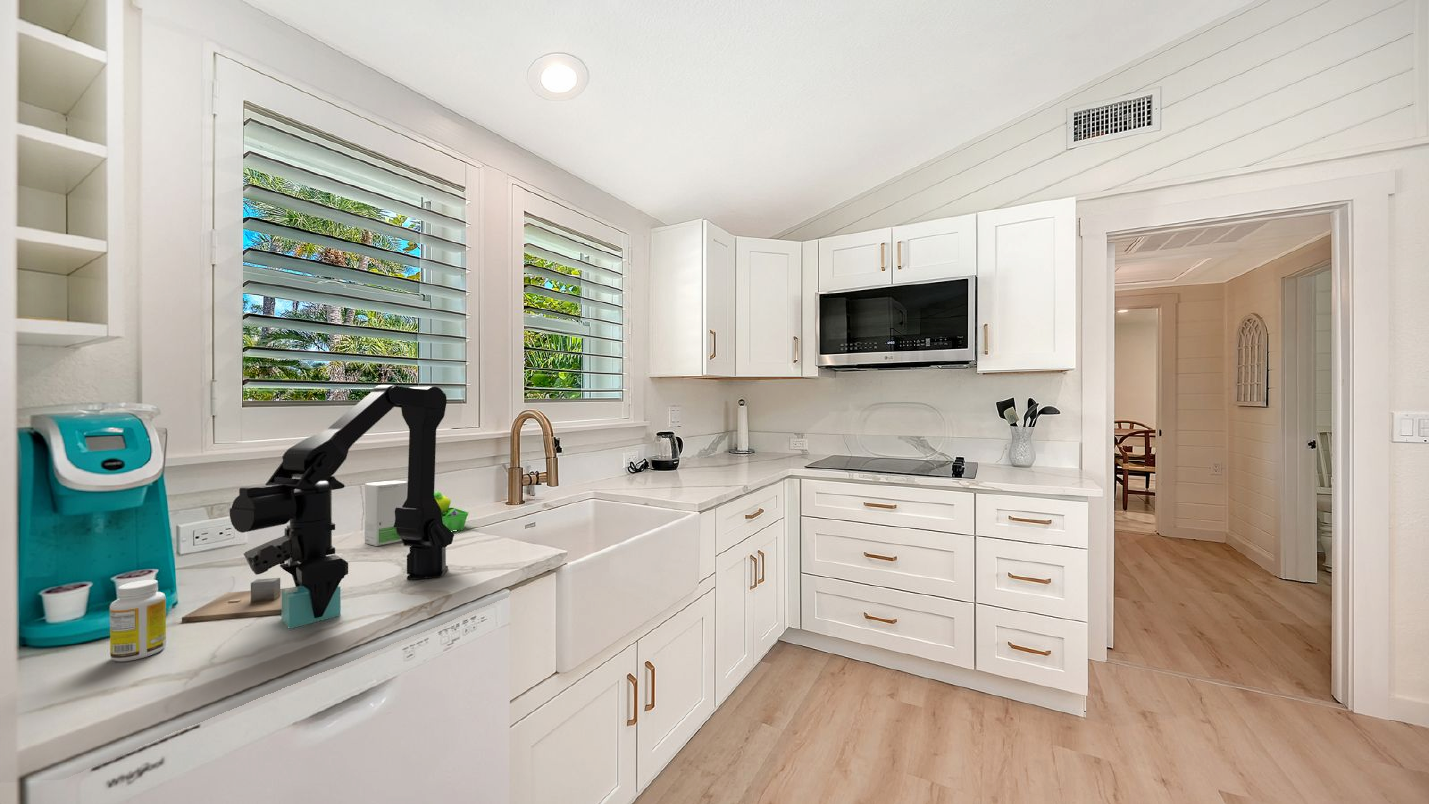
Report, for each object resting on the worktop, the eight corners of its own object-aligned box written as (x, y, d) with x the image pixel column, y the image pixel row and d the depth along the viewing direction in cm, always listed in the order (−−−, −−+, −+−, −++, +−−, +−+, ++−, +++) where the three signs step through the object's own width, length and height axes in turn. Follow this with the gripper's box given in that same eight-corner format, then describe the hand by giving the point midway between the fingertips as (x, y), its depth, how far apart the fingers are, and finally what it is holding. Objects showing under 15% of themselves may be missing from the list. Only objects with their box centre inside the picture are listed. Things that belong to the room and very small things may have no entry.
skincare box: (375, 547, 135) (375, 485, 135) (362, 543, 139) (362, 483, 139) (409, 539, 142) (409, 481, 142) (396, 536, 146) (396, 479, 146)
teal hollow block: (331, 607, 96) (331, 575, 96) (340, 615, 92) (340, 582, 92) (281, 619, 90) (281, 586, 90) (289, 628, 87) (289, 594, 87)
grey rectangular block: (280, 596, 99) (280, 577, 99) (274, 600, 97) (274, 581, 97) (257, 598, 98) (257, 579, 98) (250, 602, 96) (250, 582, 96)
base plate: (337, 588, 105) (337, 582, 105) (306, 611, 94) (306, 605, 94) (228, 596, 101) (228, 590, 101) (181, 622, 89) (181, 615, 89)
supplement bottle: (164, 642, 82) (163, 575, 82) (168, 653, 78) (167, 583, 78) (109, 655, 78) (108, 584, 78) (110, 667, 74) (110, 593, 74)
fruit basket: (470, 530, 153) (469, 490, 153) (437, 536, 146) (437, 494, 146) (453, 524, 160) (452, 486, 160) (421, 529, 154) (421, 490, 154)
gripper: (238, 519, 91) (239, 610, 91) (260, 537, 79) (261, 643, 79) (318, 508, 100) (318, 592, 100) (349, 523, 87) (349, 619, 87)
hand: (311, 610), depth 91 cm, fingers open, 8 cm apart
